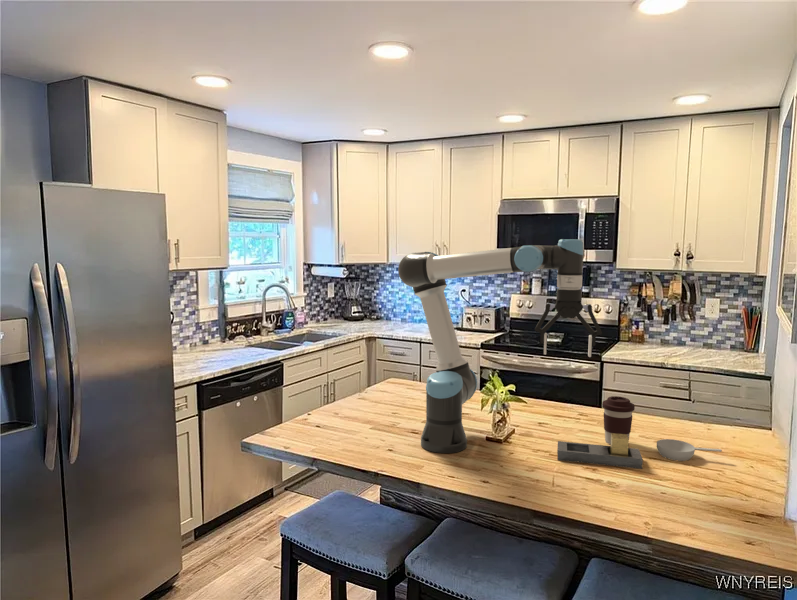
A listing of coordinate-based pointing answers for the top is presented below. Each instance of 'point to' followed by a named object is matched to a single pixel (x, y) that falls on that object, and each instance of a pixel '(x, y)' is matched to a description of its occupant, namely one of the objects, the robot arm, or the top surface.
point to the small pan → (678, 449)
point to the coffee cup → (617, 416)
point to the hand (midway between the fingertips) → (567, 355)
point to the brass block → (619, 444)
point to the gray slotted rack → (597, 455)
